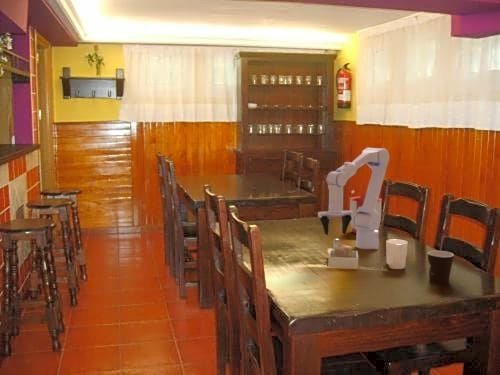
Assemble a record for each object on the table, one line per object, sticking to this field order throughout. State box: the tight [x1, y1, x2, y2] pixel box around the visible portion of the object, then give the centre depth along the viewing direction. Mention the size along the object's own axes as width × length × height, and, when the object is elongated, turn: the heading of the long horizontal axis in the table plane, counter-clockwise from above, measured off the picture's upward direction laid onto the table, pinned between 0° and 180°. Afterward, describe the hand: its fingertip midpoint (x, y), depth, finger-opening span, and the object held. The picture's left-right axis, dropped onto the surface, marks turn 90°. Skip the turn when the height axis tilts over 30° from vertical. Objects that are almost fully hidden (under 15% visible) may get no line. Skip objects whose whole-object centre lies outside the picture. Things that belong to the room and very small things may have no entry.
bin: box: [327, 250, 359, 270], centre depth 209 cm, size 11×11×4 cm
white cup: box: [385, 238, 409, 270], centre depth 205 cm, size 8×8×10 cm
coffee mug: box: [427, 250, 455, 285], centre depth 189 cm, size 12×9×10 cm
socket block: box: [335, 244, 353, 258], centre depth 208 cm, size 5×5×6 cm
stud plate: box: [327, 238, 340, 254], centre depth 224 cm, size 7×7×6 cm
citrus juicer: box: [349, 192, 383, 234], centre depth 260 cm, size 16×17×20 cm
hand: (335, 233), depth 218 cm, fingers open, 7 cm apart
